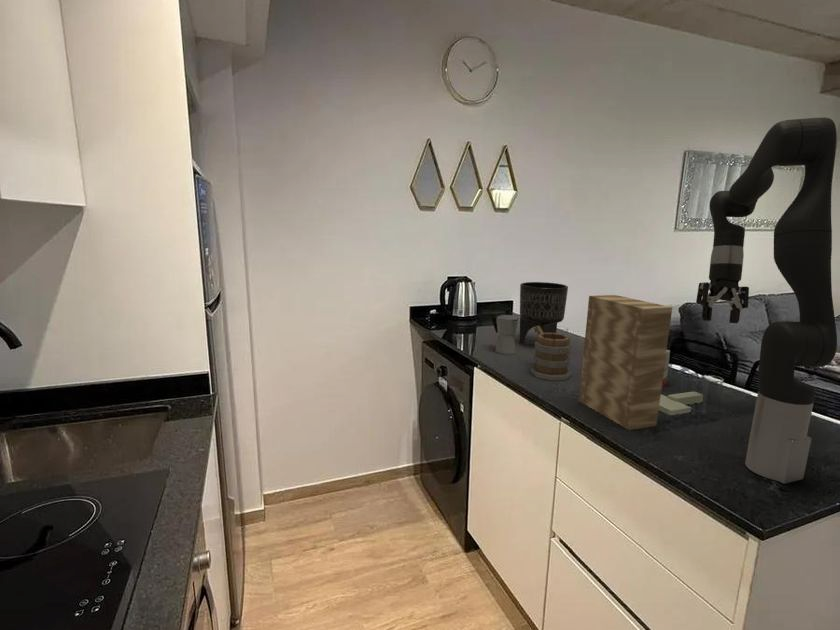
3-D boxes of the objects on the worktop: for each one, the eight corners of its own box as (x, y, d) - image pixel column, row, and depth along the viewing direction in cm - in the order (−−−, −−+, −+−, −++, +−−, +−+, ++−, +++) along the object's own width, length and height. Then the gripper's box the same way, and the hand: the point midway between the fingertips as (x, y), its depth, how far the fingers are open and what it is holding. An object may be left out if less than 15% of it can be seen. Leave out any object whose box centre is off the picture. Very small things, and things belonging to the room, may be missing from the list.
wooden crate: (656, 425, 120) (672, 307, 113) (629, 430, 117) (644, 308, 111) (603, 398, 138) (614, 294, 132) (579, 401, 135) (589, 295, 129)
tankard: (576, 380, 154) (580, 337, 151) (541, 381, 152) (544, 338, 149) (550, 362, 173) (553, 324, 170) (518, 363, 171) (521, 324, 168)
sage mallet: (715, 408, 132) (717, 400, 132) (670, 415, 127) (671, 407, 126) (680, 393, 143) (681, 386, 143) (637, 399, 138) (638, 391, 137)
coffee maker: (524, 354, 183) (527, 310, 180) (508, 357, 178) (511, 312, 175) (498, 345, 195) (500, 304, 192) (483, 348, 191) (485, 306, 187)
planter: (539, 337, 210) (543, 281, 205) (572, 347, 194) (578, 286, 189) (507, 342, 200) (510, 283, 195) (539, 353, 184) (544, 289, 179)
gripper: (714, 260, 120) (708, 320, 121) (760, 265, 123) (754, 324, 123) (693, 262, 128) (687, 319, 128) (737, 267, 130) (731, 323, 130)
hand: (720, 322), depth 126 cm, fingers open, 8 cm apart
